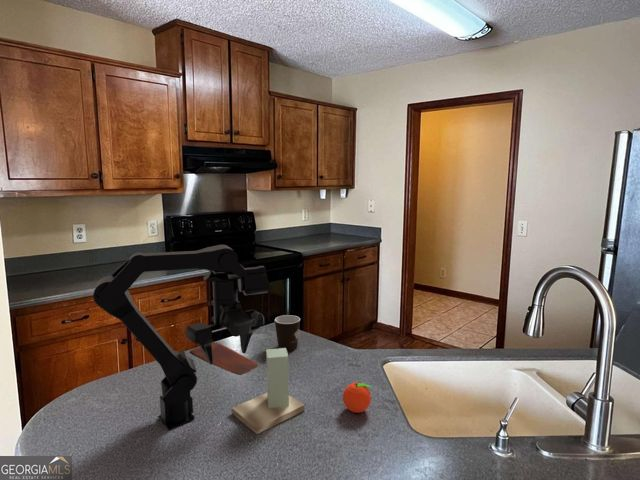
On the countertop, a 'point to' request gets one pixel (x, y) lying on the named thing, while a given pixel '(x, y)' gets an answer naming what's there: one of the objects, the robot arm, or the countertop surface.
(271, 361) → the green block
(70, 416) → the countertop surface
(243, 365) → the wooden tablet
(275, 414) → the birch board
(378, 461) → the countertop surface
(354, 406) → the clementine
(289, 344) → the coffee mug
